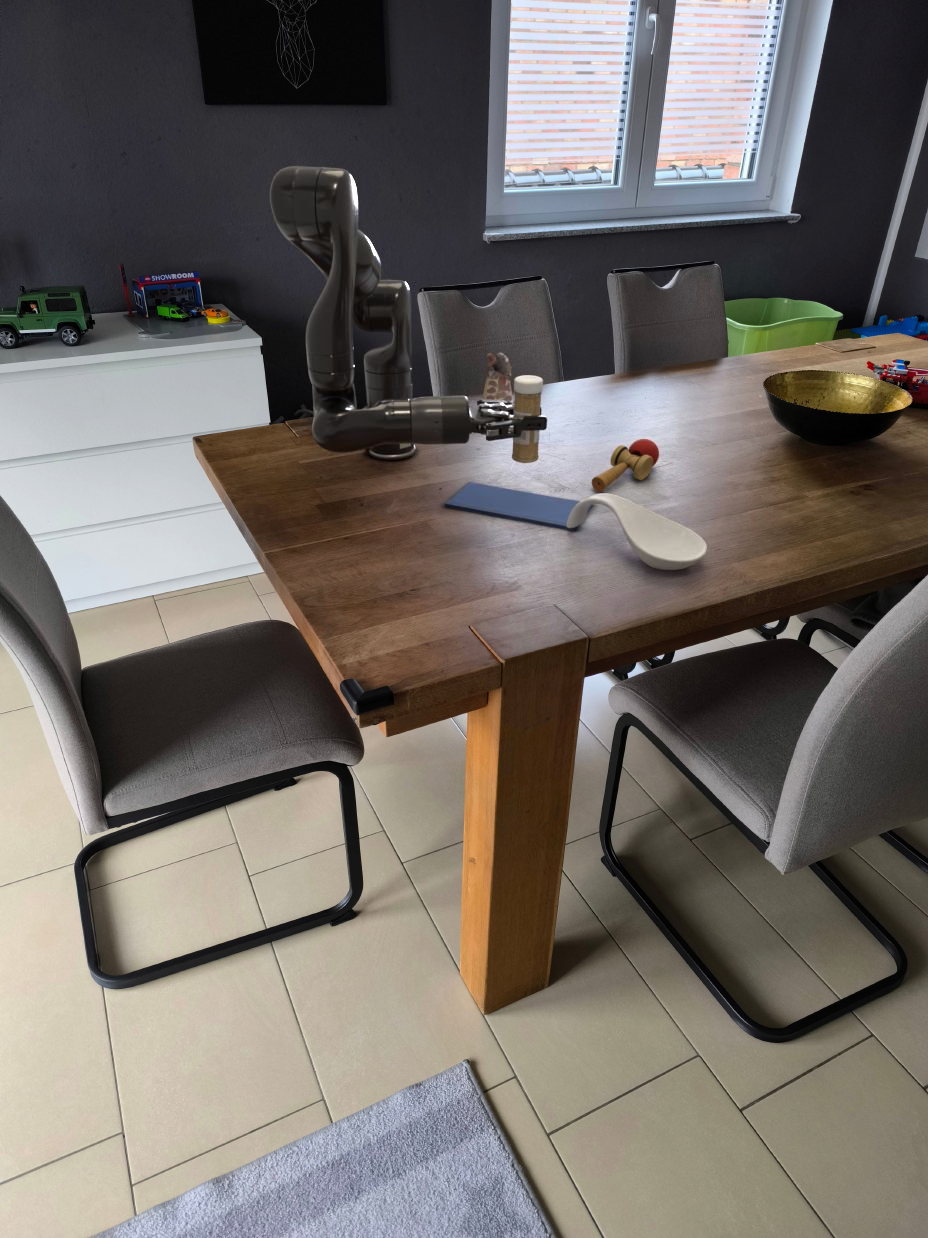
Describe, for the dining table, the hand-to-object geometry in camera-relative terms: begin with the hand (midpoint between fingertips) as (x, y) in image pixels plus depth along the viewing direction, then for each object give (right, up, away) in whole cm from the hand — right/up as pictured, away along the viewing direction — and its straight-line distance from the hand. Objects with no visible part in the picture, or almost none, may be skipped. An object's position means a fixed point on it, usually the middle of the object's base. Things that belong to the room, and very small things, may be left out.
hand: (543, 417), depth 135 cm
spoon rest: (+14, -22, -1) cm, 26 cm away
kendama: (+18, -6, +24) cm, 30 cm away
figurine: (-5, +18, +62) cm, 65 cm away
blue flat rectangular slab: (-3, -13, +13) cm, 18 cm away
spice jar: (-3, -6, +4) cm, 8 cm away
